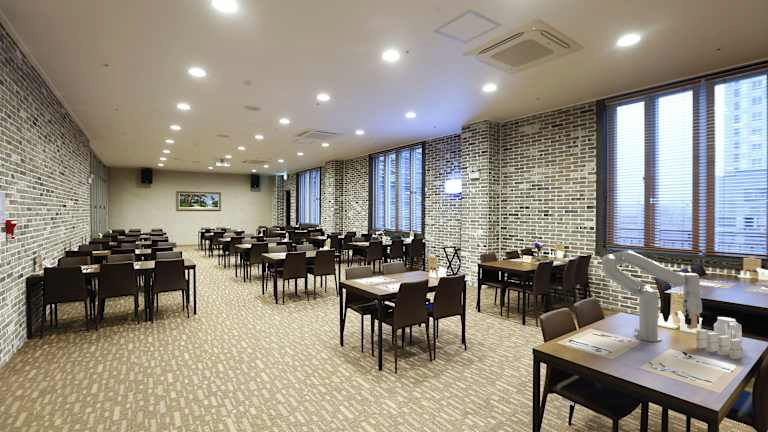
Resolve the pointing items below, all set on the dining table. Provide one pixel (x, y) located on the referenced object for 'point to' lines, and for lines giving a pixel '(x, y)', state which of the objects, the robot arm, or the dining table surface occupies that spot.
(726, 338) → the domino
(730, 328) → the beer glass
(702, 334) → the domino
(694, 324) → the domino
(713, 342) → the domino
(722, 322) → the jar
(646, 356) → the dining table surface
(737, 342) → the domino
